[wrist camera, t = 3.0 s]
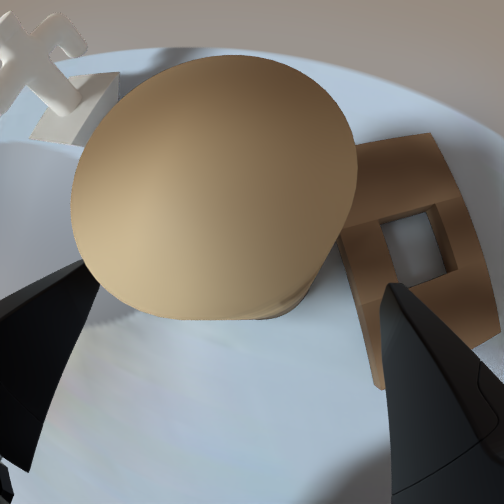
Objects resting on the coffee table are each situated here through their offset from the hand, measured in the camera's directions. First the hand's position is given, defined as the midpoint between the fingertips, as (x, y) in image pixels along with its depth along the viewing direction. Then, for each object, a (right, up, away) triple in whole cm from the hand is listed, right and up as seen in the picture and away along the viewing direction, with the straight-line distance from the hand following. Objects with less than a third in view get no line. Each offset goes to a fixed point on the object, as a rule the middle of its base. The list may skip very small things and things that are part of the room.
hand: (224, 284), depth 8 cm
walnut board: (+10, +1, +8) cm, 13 cm away
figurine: (-14, +12, +14) cm, 23 cm away
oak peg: (+2, 0, +9) cm, 9 cm away
